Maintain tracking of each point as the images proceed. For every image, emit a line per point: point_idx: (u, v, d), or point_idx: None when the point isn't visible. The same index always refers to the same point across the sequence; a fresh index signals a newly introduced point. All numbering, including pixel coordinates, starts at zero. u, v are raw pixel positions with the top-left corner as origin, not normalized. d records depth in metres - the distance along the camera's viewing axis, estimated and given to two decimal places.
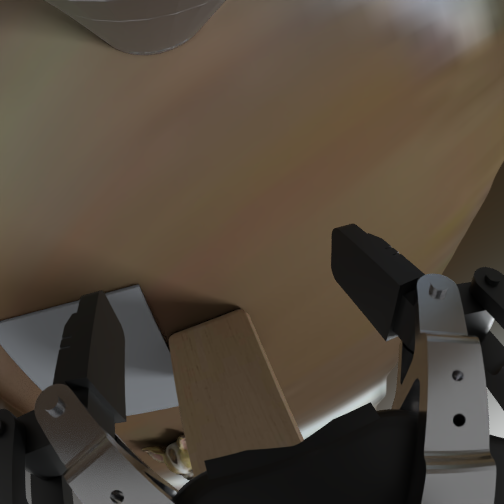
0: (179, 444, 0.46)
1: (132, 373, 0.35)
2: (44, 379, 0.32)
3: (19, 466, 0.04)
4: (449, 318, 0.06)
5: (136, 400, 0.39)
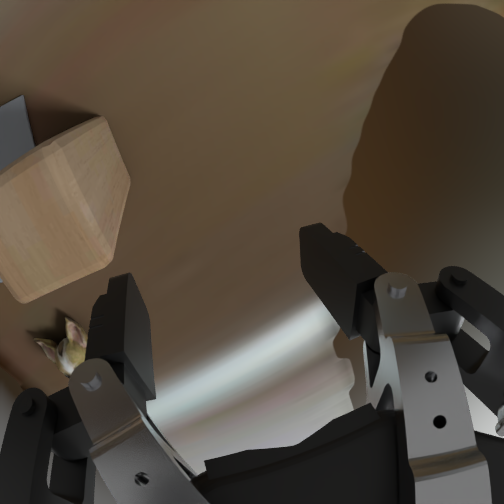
0: (66, 330, 0.41)
1: None
2: None
3: (45, 449, 0.04)
4: (412, 316, 0.06)
5: None
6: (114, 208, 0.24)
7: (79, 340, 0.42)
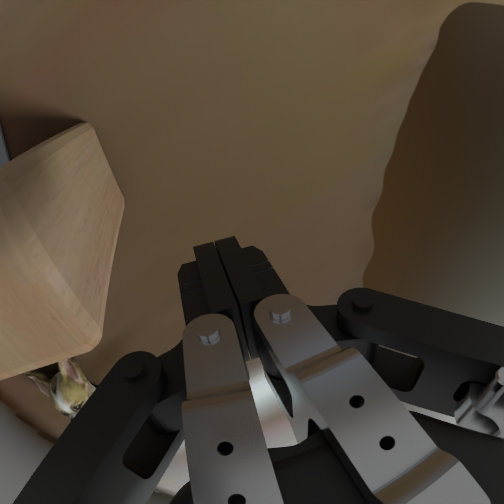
0: (58, 366, 0.34)
1: None
2: None
3: (137, 422, 0.05)
4: (308, 339, 0.06)
5: None
6: (101, 253, 0.17)
7: (73, 375, 0.36)
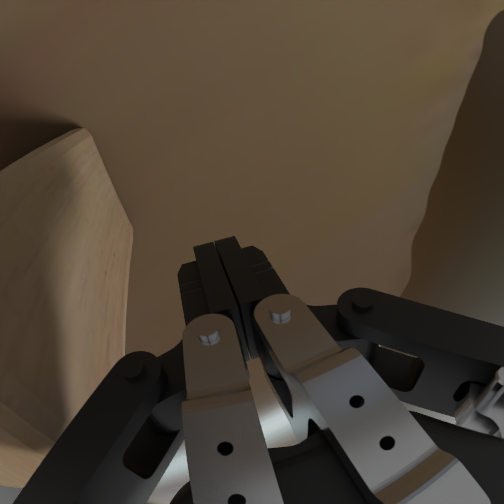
0: None
1: None
2: None
3: (137, 422, 0.05)
4: (308, 339, 0.06)
5: None
6: (110, 331, 0.12)
7: None
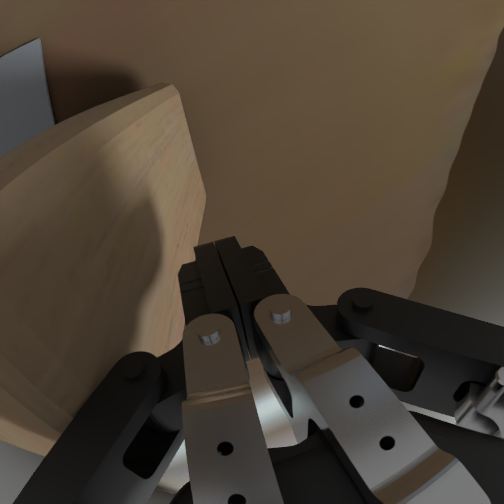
0: None
1: None
2: None
3: (137, 422, 0.05)
4: (308, 339, 0.06)
5: None
6: (174, 311, 0.12)
7: None
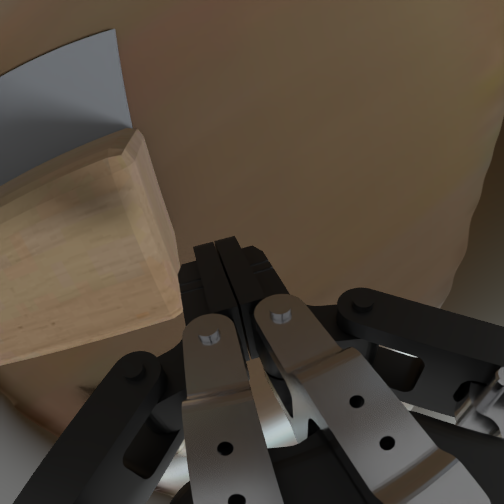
0: None
1: None
2: None
3: (137, 422, 0.05)
4: (308, 339, 0.06)
5: None
6: None
7: None
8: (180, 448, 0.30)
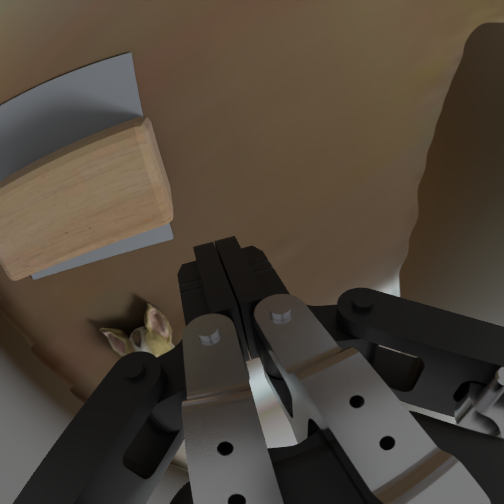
0: (146, 318, 0.41)
1: None
2: None
3: (137, 422, 0.05)
4: (308, 339, 0.06)
5: None
6: (45, 252, 0.24)
7: (159, 329, 0.42)
8: None
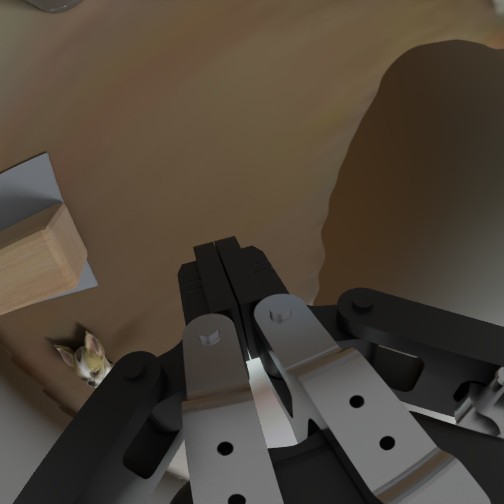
0: (85, 341, 0.50)
1: None
2: None
3: (137, 422, 0.05)
4: (308, 339, 0.06)
5: None
6: (5, 303, 0.33)
7: (95, 349, 0.51)
8: (99, 382, 0.49)
